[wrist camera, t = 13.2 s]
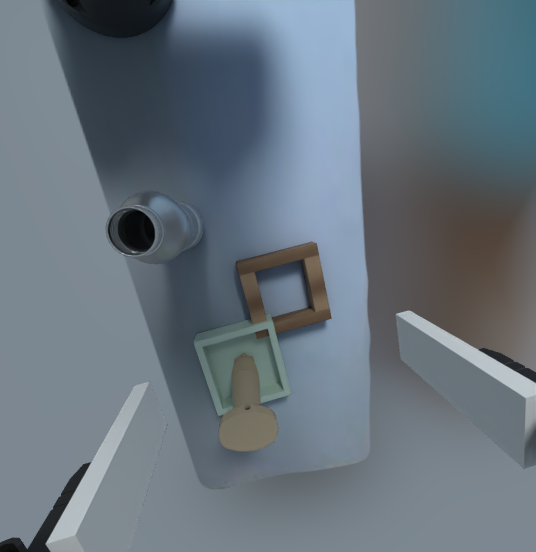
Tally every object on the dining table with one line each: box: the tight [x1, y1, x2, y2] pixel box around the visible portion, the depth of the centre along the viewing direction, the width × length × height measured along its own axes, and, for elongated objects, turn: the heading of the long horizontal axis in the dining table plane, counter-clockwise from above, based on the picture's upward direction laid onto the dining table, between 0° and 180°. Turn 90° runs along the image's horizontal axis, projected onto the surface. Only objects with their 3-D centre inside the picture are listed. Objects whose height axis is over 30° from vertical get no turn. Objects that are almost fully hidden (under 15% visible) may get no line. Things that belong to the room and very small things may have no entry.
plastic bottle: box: [106, 191, 204, 264], centre depth 29 cm, size 6×7×20 cm
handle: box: [219, 353, 278, 452], centre depth 37 cm, size 5×6×15 cm
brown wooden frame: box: [236, 242, 331, 339], centre depth 42 cm, size 12×12×2 cm
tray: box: [194, 314, 291, 416], centre depth 43 cm, size 13×12×3 cm
